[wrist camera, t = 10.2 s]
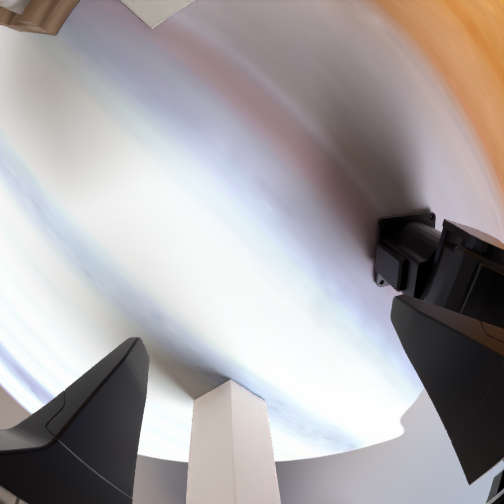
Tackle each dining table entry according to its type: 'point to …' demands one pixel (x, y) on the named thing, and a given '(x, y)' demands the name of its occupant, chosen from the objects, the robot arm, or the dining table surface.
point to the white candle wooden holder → (36, 14)
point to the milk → (231, 449)
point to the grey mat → (155, 9)
